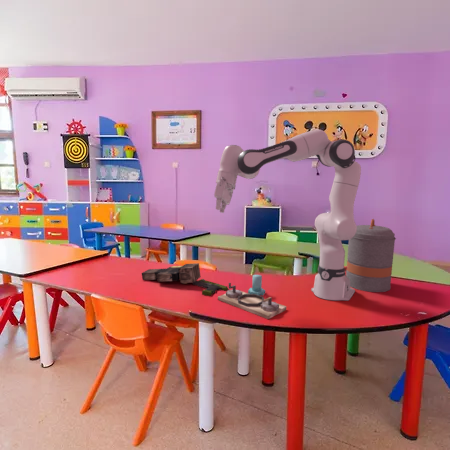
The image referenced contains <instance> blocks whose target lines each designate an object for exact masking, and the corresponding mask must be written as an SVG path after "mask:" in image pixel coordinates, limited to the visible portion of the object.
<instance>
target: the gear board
mask: <svg viewBox="0 0 450 450" xmlns="http://www.w3.org/2000/svg"><path fill="white" fill-rule="evenodd" d="M272 300H273V298H272V297H271V296H269V297H267V298H265V297H264V296H263V295H261V296H259V295H256V294H250V293H248V292H245V291H242V290H240V289H237V286H236V285H232V282H228V289H227V290H226V291H225V293H224V294H221V295H219V296H217V301H221V303H222V302H223V303H225V304H227V305H231V306H233V307H236V308H239V309H240V310H243V311H246V312H248V313H251V314H254V315H256V316H259V317H262V318H264V319H267V320H269V319H272V318H274V317H275V316H277V315H279V314H281V313H283V312H285V311H287V306H286V305H284V304H280V303H278V302H276V301H272Z"/></svg>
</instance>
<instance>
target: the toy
mask: <svg viewBox="0 0 450 450" xmlns="http://www.w3.org/2000/svg"><path fill="white" fill-rule="evenodd" d="M141 278H142V281H149V280H150V281H151V280H157V282H177V281H179V282H180V283H179V284H184V285H186V284H189V283H192V284H193V282H195V281H199V280H200V279H201V269H200V263H199V262H198V263H197V262H196V263H185V264H184V265H183V264H182V265H172V266H169V267H167V268H149V269H146V270H145V271H143V272H141Z"/></svg>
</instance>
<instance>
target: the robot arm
mask: <svg viewBox="0 0 450 450" xmlns="http://www.w3.org/2000/svg"><path fill="white" fill-rule="evenodd" d="M355 152H356V151H355V146H354V145H353V143H352V142H351V141H350V140H347V139H337V140H333V141H332V140H331V139H329V136H328V134H327V133H326V131H324V130H322V129H314V130H310V131H306V132H302V133H300V134H297V135H295V136H293V137H290V138H288V139H286V140H284V141H282V142H279V143H276V144H273V145H269V146H267V147H264V148H259V149H253V148H252V149H246V150H244V149H243V148H242V147H241V145H237V144H231V145H227V146H226V147H225V148H224V149H223V151H222V154H221V157H220V161H219V169H218V171H217V176H216V180H215V184H216V185H215V190H214V194H213V195H214V198H216V200H215V201H216V204H215V210H217V211H219V212H220V213H221V214H224V213H225V210H226V207H227V205H230V203H231V201H232V197H233V194H234V190H236V183H237V179H238V176H239V177H242V178H245V179H248V180H251V179H252V180H253V179H254V178H256V177H257V176H258V175H259V173H260V170H261V168H262V167H263V166H265V165H266V164H269V163H273V162H276V161H278V160H281V159H287V160H288V161H290V162H298V161H299V162H301V161H303V160H306V159H309V158H311V157H314V156H316V157H317V159H318V161H319V162H320V164H322V166H324V167H328V168H329V167H330V168H331V167H333V168H334V172H335V173H334V177H333V182H332V186H331V189H330V193H329V196H328V201H329V204H330V212H323V213H319V214H318V215H317V216H316V217H315V220H314V227H315V228H316V231H317V236H318V243H319V264H318V267H317V273H316V274H315V277H314V282H313V283H314V284H313V287H311V289H310V291H311V292H312V293H313V294H314V295H315V296H316V297H318V298H320V299H323V300H326V301H350V300H351V298H352V297H353V295H354V294H355V292H356V290H355V288H352V287H350V279H349V278H348V277H347V276H346V270H347V265H345V257H346V251H345V248H344V246H343V243H342V241H349V239H351V238H353V237H354V236H355V234H356V231H357V226H358V225H357V224H356V222H355V217H354V216H355V215H354V207H355V201H356V195H357V193H358V189H359V185H360V181H361V174H362V173H361V172H362V167H361V164H360V163H359V162H357V161H356V155H355Z"/></svg>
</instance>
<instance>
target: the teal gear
mask: <svg viewBox="0 0 450 450" xmlns="http://www.w3.org/2000/svg"><path fill="white" fill-rule="evenodd" d="M251 280H252V282H251V283H252V285H251V286H252V287H249V289H248V290H247V293H248V294H256V295H259V296H265V294H266V289H264V288H263V286H262V285H263V284H262V281H263V275H262V274H252V279H251Z"/></svg>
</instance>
